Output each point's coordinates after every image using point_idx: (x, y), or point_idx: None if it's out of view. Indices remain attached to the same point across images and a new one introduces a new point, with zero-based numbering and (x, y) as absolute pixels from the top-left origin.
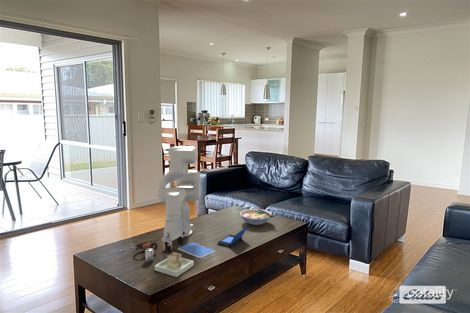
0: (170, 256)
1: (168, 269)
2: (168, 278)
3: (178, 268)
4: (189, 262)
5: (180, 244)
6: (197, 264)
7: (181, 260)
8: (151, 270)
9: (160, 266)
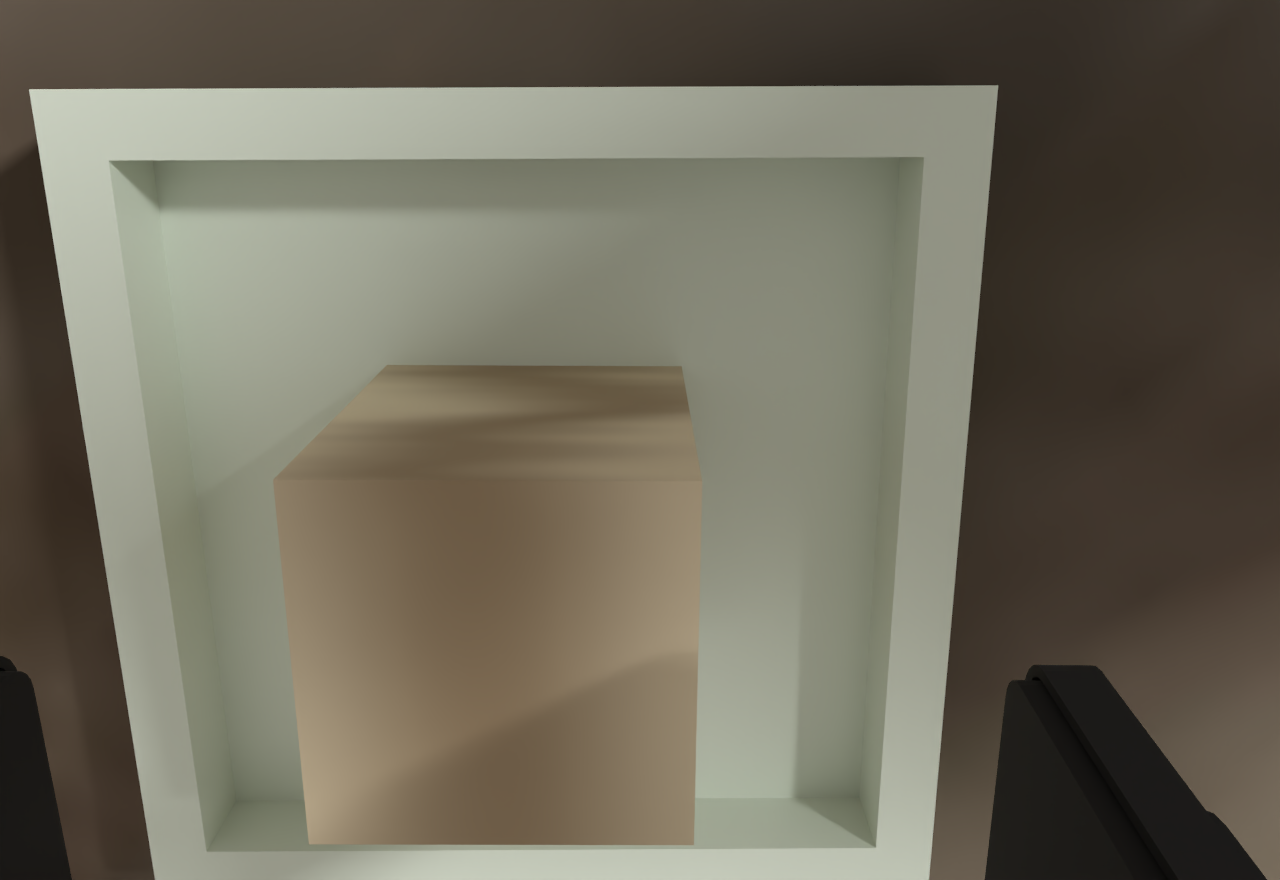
0: (291, 641)
1: (128, 638)
2: (45, 697)
3: None
4: (790, 854)
5: (1004, 875)
6: (987, 846)
7: (884, 500)
8: (40, 8)
9: (110, 308)
